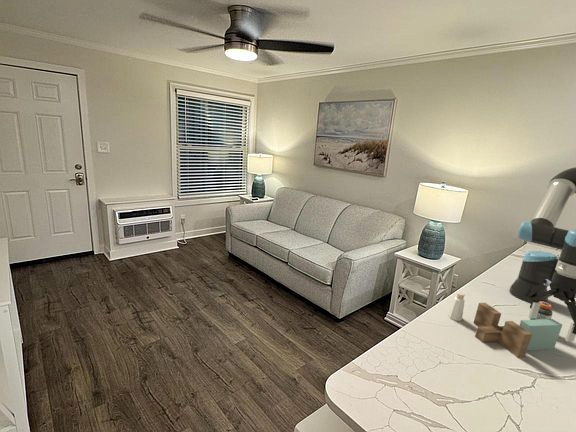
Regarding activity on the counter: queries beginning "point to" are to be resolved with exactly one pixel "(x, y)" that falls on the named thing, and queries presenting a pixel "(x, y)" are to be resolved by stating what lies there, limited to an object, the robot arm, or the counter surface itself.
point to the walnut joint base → (500, 331)
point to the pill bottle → (544, 311)
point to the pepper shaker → (457, 307)
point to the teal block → (542, 333)
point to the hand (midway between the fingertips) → (549, 328)
